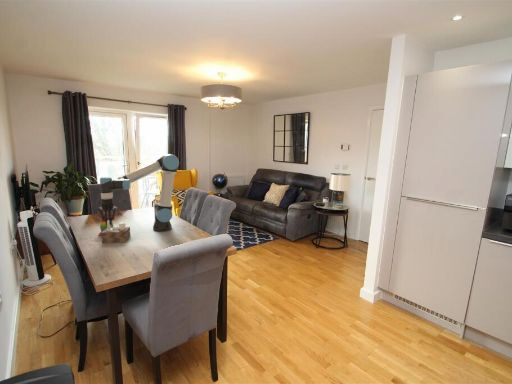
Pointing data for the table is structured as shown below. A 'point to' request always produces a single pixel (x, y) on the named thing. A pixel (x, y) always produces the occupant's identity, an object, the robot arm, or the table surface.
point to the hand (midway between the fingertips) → (109, 229)
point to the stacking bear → (103, 225)
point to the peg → (122, 226)
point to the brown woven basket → (115, 235)
